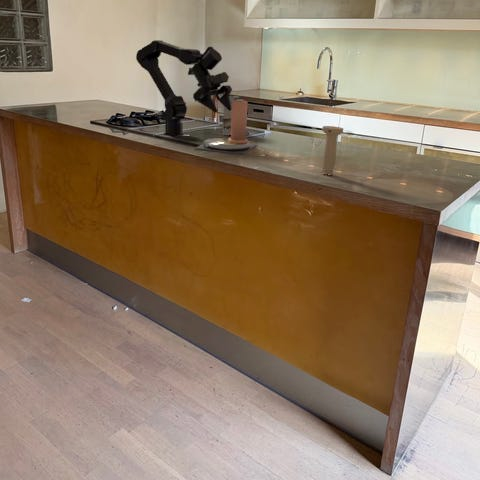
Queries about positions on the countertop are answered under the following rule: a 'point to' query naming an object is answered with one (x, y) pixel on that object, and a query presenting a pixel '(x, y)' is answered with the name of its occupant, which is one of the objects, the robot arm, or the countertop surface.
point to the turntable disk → (224, 144)
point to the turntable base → (242, 151)
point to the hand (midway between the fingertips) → (223, 111)
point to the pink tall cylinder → (238, 122)
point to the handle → (330, 148)
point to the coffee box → (228, 116)
